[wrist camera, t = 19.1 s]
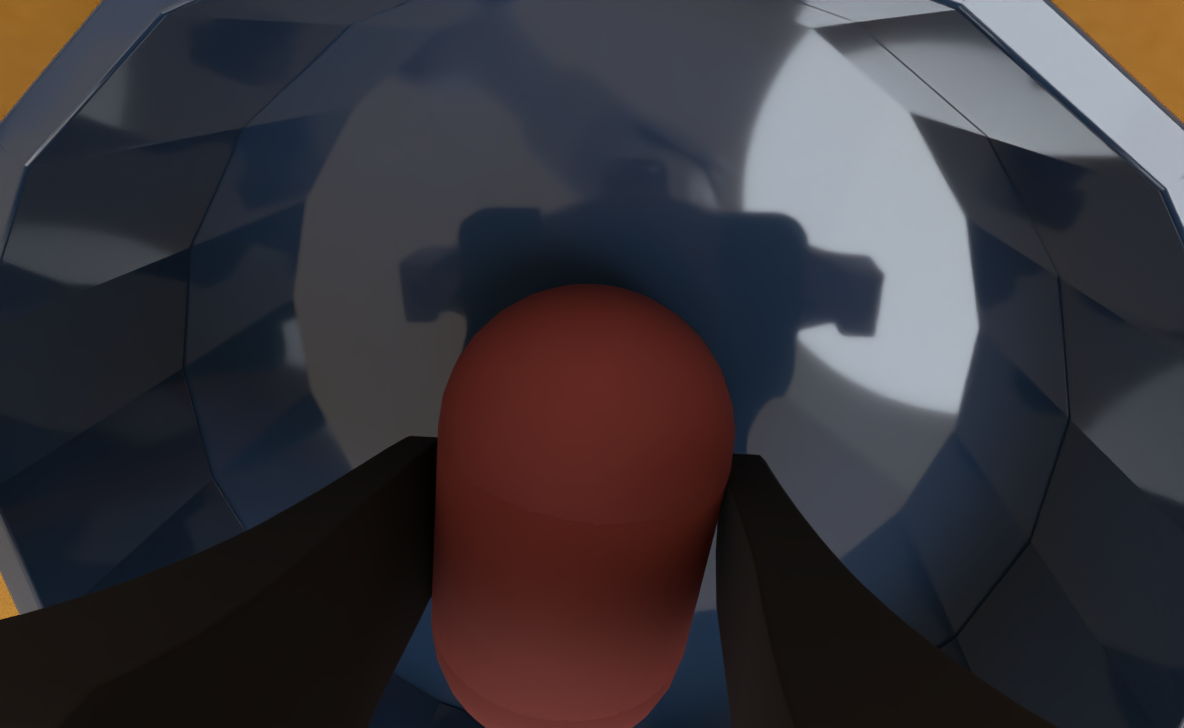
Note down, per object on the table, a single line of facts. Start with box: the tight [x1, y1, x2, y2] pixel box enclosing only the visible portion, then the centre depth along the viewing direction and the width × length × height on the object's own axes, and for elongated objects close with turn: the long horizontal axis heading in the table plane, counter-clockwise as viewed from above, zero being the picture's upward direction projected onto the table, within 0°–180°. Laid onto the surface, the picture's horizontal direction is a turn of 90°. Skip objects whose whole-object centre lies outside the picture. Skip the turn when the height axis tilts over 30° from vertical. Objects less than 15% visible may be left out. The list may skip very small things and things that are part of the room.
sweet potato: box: [431, 284, 735, 728], centre depth 11 cm, size 4×8×4 cm, turn 173°
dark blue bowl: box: [0, 0, 1184, 728], centre depth 12 cm, size 17×17×5 cm
